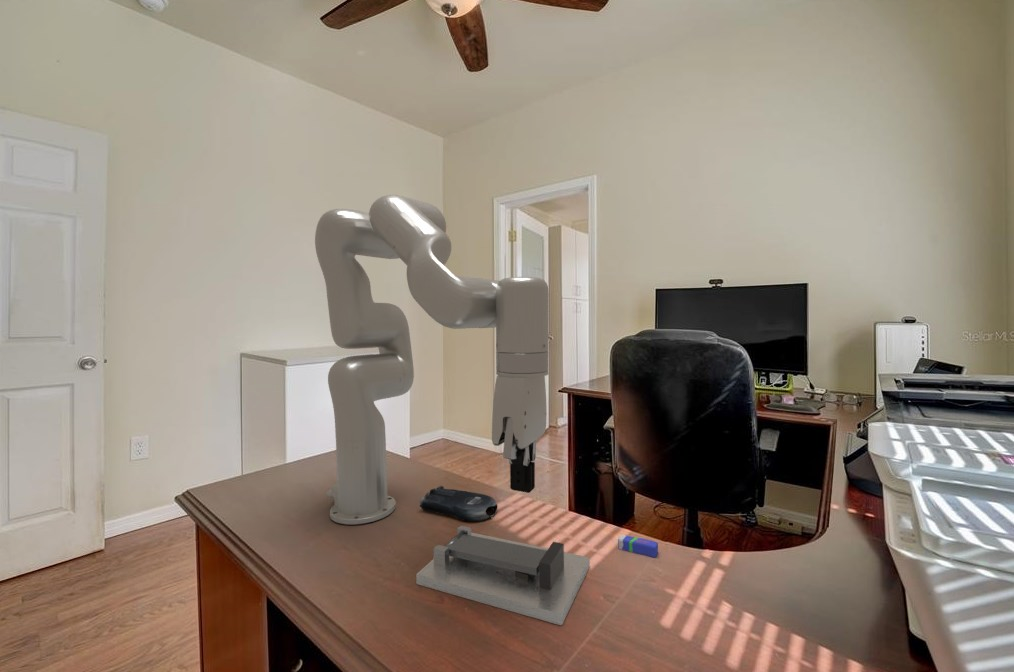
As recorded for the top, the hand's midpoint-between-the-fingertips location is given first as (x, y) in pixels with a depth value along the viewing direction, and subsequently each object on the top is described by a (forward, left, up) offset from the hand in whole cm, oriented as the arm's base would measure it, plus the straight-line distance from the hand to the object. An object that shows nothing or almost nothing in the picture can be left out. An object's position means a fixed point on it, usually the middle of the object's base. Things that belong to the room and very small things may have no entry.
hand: (522, 489), depth 63 cm
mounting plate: (-3, 0, -14) cm, 14 cm away
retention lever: (-5, 0, -11) cm, 12 cm away
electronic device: (-21, +17, -14) cm, 30 cm away
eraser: (+14, +15, -14) cm, 25 cm away
